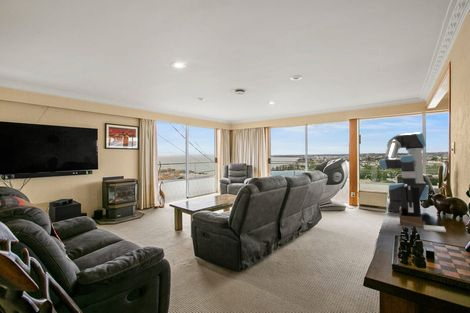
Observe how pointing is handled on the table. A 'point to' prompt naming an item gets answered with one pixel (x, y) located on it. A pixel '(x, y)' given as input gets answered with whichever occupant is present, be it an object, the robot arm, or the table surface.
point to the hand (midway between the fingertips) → (411, 210)
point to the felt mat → (434, 228)
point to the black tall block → (414, 198)
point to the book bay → (410, 220)
